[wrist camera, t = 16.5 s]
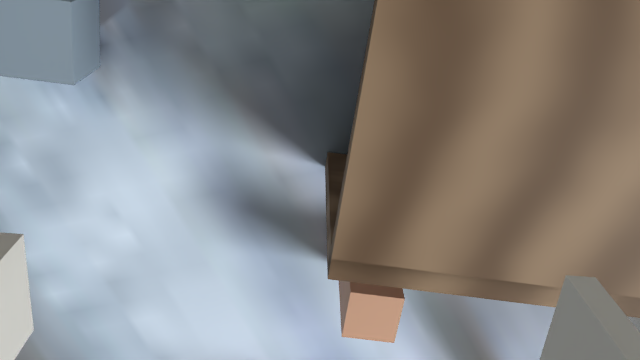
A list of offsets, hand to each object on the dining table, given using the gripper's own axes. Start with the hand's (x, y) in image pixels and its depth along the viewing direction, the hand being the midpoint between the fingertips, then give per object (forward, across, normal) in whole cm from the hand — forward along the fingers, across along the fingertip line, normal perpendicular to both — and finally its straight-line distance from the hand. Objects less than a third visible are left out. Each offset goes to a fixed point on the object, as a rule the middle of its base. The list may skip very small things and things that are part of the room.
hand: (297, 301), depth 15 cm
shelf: (+29, +12, 0) cm, 31 cm away
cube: (+29, -16, 0) cm, 34 cm away
